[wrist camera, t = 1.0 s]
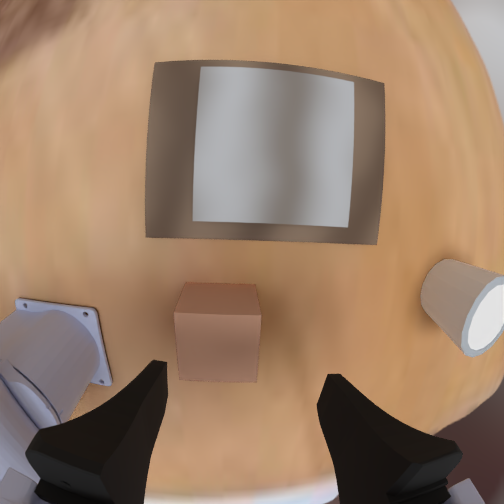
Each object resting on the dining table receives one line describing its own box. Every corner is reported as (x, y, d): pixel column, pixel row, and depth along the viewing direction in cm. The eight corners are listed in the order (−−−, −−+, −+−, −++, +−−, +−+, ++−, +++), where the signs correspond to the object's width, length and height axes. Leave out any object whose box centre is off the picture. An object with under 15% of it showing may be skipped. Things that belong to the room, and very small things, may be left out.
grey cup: (404, 318, 23) (448, 359, 16) (429, 245, 21) (485, 269, 14) (451, 322, 24) (493, 356, 17) (474, 259, 22) (523, 282, 15)
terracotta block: (188, 340, 22) (179, 379, 17) (185, 281, 21) (173, 312, 16) (251, 342, 22) (256, 382, 17) (255, 283, 21) (261, 315, 16)
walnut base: (150, 233, 20) (134, 245, 16) (158, 68, 17) (145, 49, 13) (369, 241, 21) (392, 253, 17) (376, 87, 18) (400, 74, 14)
